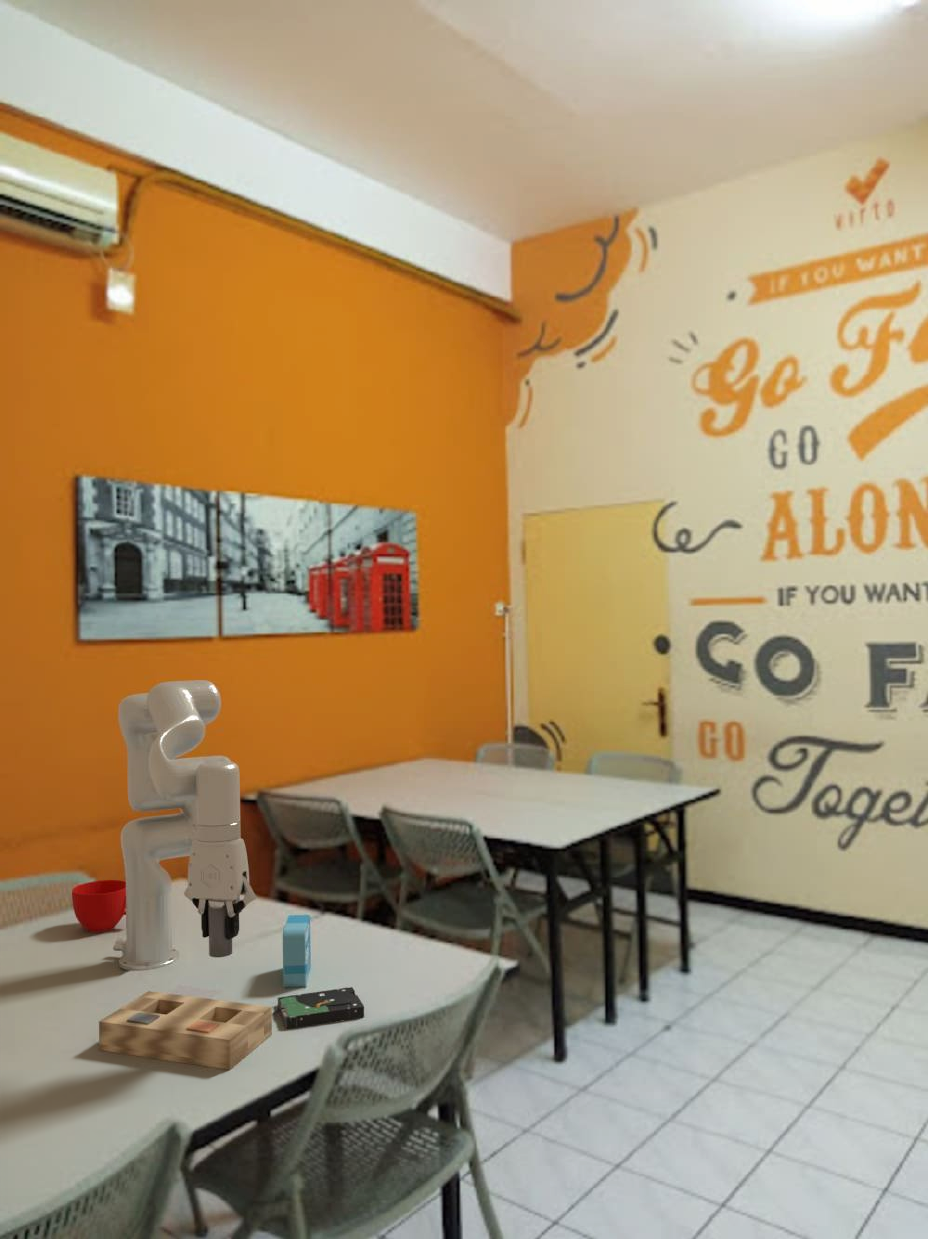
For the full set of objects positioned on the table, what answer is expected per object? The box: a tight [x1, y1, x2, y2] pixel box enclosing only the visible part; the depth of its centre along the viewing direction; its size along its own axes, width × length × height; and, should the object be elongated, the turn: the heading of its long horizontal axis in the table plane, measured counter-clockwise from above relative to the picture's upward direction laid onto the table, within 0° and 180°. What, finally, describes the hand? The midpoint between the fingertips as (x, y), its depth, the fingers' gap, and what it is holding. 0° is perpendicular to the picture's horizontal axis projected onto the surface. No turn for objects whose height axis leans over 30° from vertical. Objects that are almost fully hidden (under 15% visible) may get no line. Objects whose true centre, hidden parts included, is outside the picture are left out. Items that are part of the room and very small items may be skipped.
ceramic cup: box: [71, 879, 126, 933], centre depth 233 cm, size 13×17×10 cm
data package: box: [282, 914, 312, 988], centre depth 199 cm, size 12×4×12 cm, turn 4°
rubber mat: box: [166, 984, 223, 999], centre depth 188 cm, size 10×10×1 cm
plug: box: [208, 900, 233, 958], centre depth 169 cm, size 4×4×10 cm
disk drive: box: [277, 986, 365, 1030], centre depth 182 cm, size 10×3×15 cm
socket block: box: [98, 990, 273, 1071], centre depth 170 cm, size 26×14×5 cm, turn 72°
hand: (220, 935), depth 169 cm, fingers closed on plug, 4 cm apart
